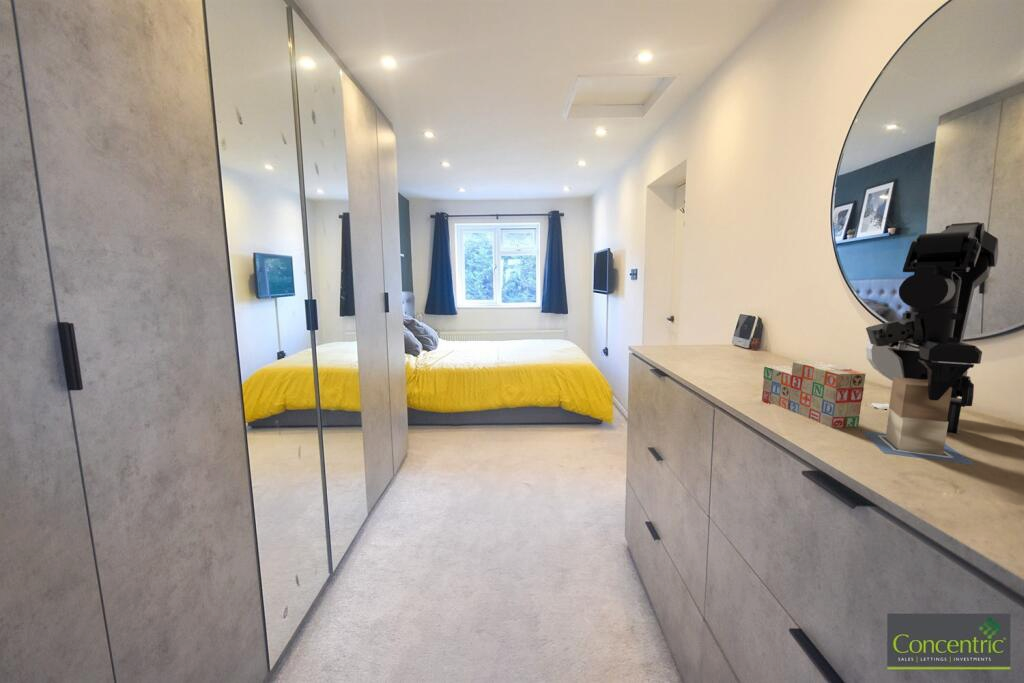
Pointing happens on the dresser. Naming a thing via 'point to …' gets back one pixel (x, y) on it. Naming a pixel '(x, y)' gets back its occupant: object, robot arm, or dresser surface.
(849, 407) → the stack of blocks
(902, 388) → the walnut block
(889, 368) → the heart sculpture
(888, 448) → the board
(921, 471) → the dresser surface
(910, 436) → the beech block
